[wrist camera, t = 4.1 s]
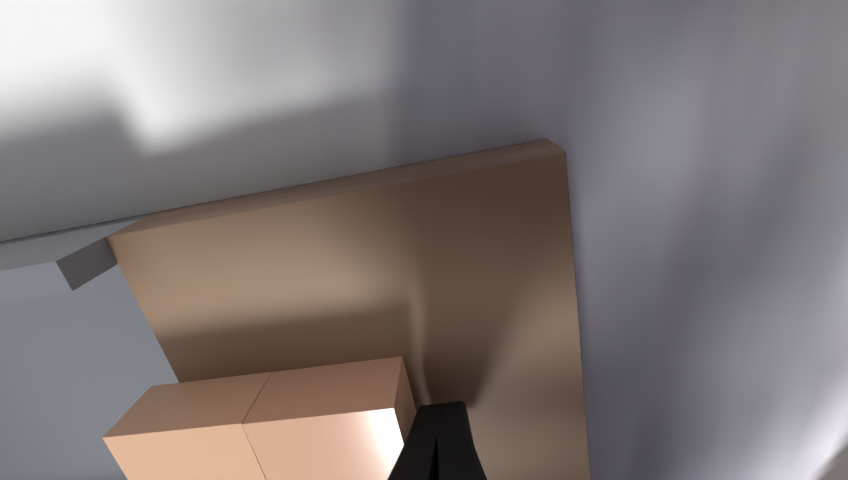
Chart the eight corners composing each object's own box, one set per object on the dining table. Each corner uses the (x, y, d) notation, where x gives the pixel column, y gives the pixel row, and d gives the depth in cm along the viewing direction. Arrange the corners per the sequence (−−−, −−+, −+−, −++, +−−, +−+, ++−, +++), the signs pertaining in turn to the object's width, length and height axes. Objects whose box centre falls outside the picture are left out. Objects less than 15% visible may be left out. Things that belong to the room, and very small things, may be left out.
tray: (293, 517, 18) (259, 614, 15) (33, 538, 20) (-49, 630, 17) (153, 212, 13) (55, 261, 10) (-181, 275, 15) (-359, 334, 12)
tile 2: (309, 468, 14) (287, 528, 12) (199, 477, 15) (163, 537, 13) (271, 371, 13) (240, 423, 11) (151, 385, 13) (102, 437, 11)
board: (579, 494, 17) (595, 547, 15) (293, 517, 18) (275, 568, 16) (547, 138, 12) (565, 152, 10) (153, 212, 13) (104, 237, 11)
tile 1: (428, 457, 14) (424, 518, 12) (310, 468, 14) (288, 528, 12) (402, 356, 12) (393, 408, 10) (272, 372, 13) (241, 424, 11)
